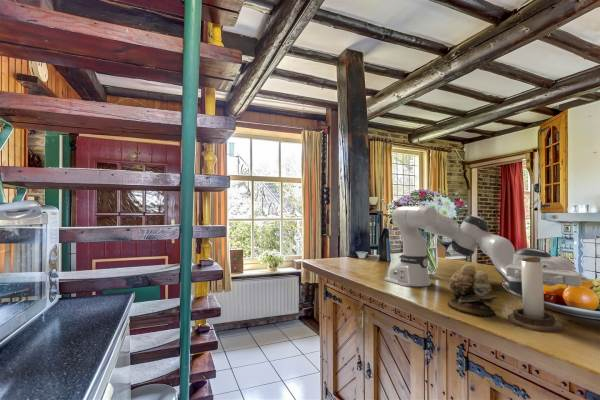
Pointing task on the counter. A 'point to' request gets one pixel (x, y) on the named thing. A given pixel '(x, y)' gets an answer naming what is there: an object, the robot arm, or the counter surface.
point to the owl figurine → (471, 292)
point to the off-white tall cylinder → (532, 287)
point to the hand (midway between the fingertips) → (533, 277)
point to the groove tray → (537, 328)
